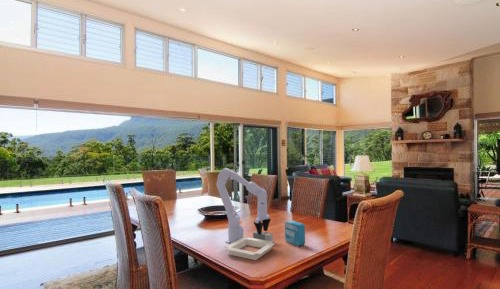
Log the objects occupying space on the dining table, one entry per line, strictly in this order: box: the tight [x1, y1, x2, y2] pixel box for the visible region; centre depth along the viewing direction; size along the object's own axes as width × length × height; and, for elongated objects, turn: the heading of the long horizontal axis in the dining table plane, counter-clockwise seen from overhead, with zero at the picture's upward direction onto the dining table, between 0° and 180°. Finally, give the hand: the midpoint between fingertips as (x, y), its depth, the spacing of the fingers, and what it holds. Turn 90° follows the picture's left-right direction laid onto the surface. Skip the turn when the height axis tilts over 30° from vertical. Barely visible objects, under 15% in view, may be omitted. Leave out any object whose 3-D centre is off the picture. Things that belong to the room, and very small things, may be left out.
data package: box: [284, 220, 306, 247], centre depth 167 cm, size 12×4×12 cm, turn 36°
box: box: [252, 230, 274, 242], centre depth 171 cm, size 4×11×5 cm, turn 60°
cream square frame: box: [224, 237, 276, 261], centre depth 154 cm, size 22×21×4 cm
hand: (262, 232), depth 171 cm, fingers open, 7 cm apart
